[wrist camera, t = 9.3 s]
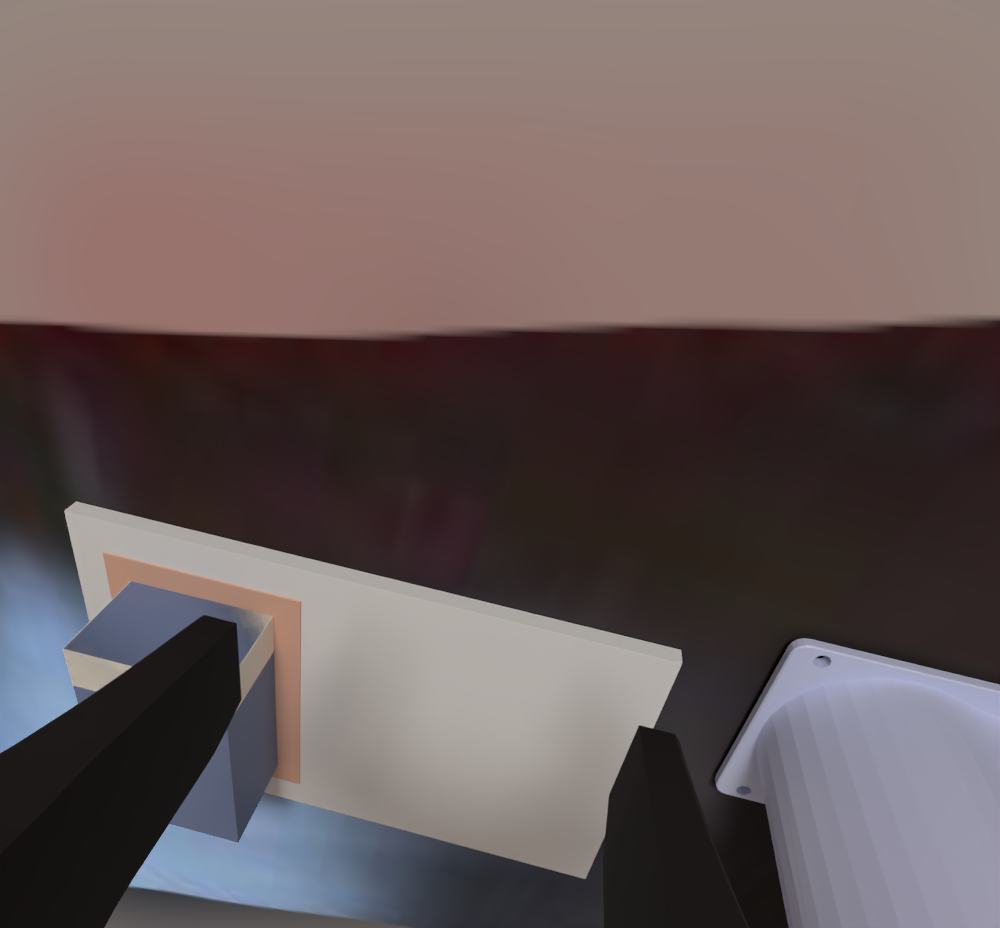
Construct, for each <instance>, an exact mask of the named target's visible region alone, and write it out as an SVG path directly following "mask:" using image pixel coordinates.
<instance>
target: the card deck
mask: <svg viewBox="0 0 1000 928" xmlns="http://www.w3.org/2000/svg"><path fill="white" fill-rule="evenodd" d="M203 615H207V616H211V617H215V618H219V619H222V620H226V621H230V622H234V623H237V636H238V651H239V667H240V682H241V698H242V700H241V702H240V704H239V706H238V708H237V710H236V712H235V714H234V716H233V718H232V720H231V722H230V724H229V726H228V728H227V730H226V732H225V734H224V736H223V738H222V740H221V742H220V744H219V745H218V747H217V749H216V751H215V753H214V755H213V757H212V758H211V760H210V761H209V763H208V764H207V766H206V768H205V769H204V771H203V772H202V774H201V775H200V777H199V778H198V780H197V782H196V783H195V785H194V786H193V788H192V789H191V791H190V792H189V794H188V795H187V797H186V799H185V800H184V802H183V803H182V805H181V806H180V808H179V809H178V811H177V812H176V814H175V815H174V817H173V818H172V820H171V821H170V823H169V824H172V825H176V826H180V827H183V828H187V829H191V830H195V831H198V832H202V833H206V834H209V835H213V836H217V837H220V838H224V839H228V840H231V841H235V842H239V840H240V838H241V836H242V834H243V832H244V830H245V828H246V826H247V824H248V822H249V820H250V818H251V816H252V815H253V813H254V811H255V809H256V807H257V805H258V803H259V801H260V799H261V797H262V795H263V793H264V791H265V789H266V787H267V785H268V784H269V782H270V780H271V778H272V776H273V774H274V772H275V770H276V768H277V766H278V753H277V725H276V696H275V668H274V625H273V616H271V615H267V614H263V613H259V612H254V611H250V610H246V609H242V608H238V607H234V606H230V605H226V604H222V603H218V602H214V601H210V600H206V599H202V598H198V597H193V596H189V595H185V594H181V593H177V592H173V591H169V590H165V589H161V588H157V587H153V586H149V585H145V584H141V583H136V582H132V581H130V582H129V583H128V584H127V585H126V586H125V587H124V588H123V589H122V590H121V591H120V592H119V593H118V594H117V595H116V596H115V597H114V598H113V599H112V600H111V601H110V602H109V603H108V604H107V605H106V606H105V607H104V608H103V609H102V610H101V611H100V612H99V613H98V614H97V615H96V616H95V617H94V618H93V619H92V620H91V621H90V622H89V623H88V624H87V625H86V626H85V627H84V628H83V629H82V630H81V631H80V632H79V633H78V634H77V635H76V636H75V637H74V638H73V639H72V640H71V641H70V642H69V643H68V644H67V645H66V646H65V647H64V648H63V651H64V655H65V659H66V662H67V666H68V670H69V673H70V677H71V680H72V684H73V686H74V690H75V693H76V697H77V700H78V704H79V703H80V702H82V701H83V700H85V699H86V698H88V697H89V696H91V695H92V694H94V693H95V692H96V691H98V690H99V689H101V688H102V687H104V686H105V685H106V684H108V683H109V682H111V681H112V680H114V679H115V678H117V677H118V676H119V675H121V674H122V673H124V672H125V671H127V670H128V669H129V668H131V667H132V666H134V665H135V664H136V663H138V662H139V661H140V660H142V659H143V658H145V657H146V656H147V655H149V654H150V653H152V652H153V651H154V650H156V649H157V648H158V647H160V646H161V645H162V644H164V643H165V642H167V641H168V640H169V639H171V638H172V637H173V636H175V635H176V634H177V633H179V632H180V631H181V630H183V629H184V628H186V627H187V626H188V625H190V624H191V623H192V622H194V621H195V620H197V619H198V618H200V617H201V616H203Z"/></svg>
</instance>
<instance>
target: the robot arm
mask: <svg viewBox="0 0 1000 928" xmlns="http://www.w3.org/2000/svg"><path fill="white" fill-rule="evenodd" d="M818 656H825V657H823V658H816V657H818ZM241 700H242V698H241V682H240V667H239V651H238V636H237V623H234V622H230V621H226V620H222V619H219V618H215V617H211V616H207V615H203V616H201V617H200V618H198V619H197V620H195V621H194V622H192V623H191V624H190V625H188V626H187V627H186V628H184V629H183V630H181V631H180V632H179V633H177V634H176V635H175V636H173V637H172V638H171V639H169V640H168V641H167V642H165V643H164V644H162V645H161V646H160V647H158V648H157V649H156V650H154V651H153V652H152V653H150V654H149V655H147V656H146V657H145V658H143V659H142V660H140V661H139V662H138V663H136V664H135V665H134V666H132V667H131V668H129V669H128V670H127V671H125V672H124V673H122V674H121V675H119V676H118V677H117V678H115V679H114V680H112V681H111V682H109V683H108V684H106V685H105V686H104V687H102V688H101V689H99V690H98V691H96V692H95V693H94V694H92V695H91V696H89V697H88V698H86V699H85V700H83V701H82V702H80V703H79V704H78V705H76V706H75V707H73V708H72V709H70V710H69V711H67V712H65V713H64V714H62V715H61V716H59V717H58V718H56V719H54V720H53V721H51V722H50V723H48V724H47V725H45V726H44V727H42V728H40V729H39V730H37V731H36V732H34V733H33V734H31V735H29V736H28V737H26V738H25V739H23V740H22V741H20V742H19V743H17V744H15V745H14V746H12V747H10V748H9V749H7V750H5V751H4V752H2V753H0V928H104V927H105V925H106V923H107V921H108V919H109V918H110V916H111V914H112V912H113V910H114V909H115V907H116V906H117V904H118V902H119V901H120V899H121V897H122V896H123V894H124V892H125V891H126V889H127V887H128V886H129V884H130V883H131V881H132V879H133V878H134V876H135V875H136V873H137V872H138V870H139V869H140V867H141V866H142V864H143V863H144V861H145V860H146V858H147V856H148V855H149V853H150V852H151V850H152V849H153V847H154V846H155V844H156V843H157V841H158V840H159V838H160V837H161V835H162V834H163V832H164V831H165V829H166V828H167V826H168V824H169V823H170V821H171V820H172V818H173V817H174V815H175V814H176V812H177V811H178V809H179V808H180V806H181V805H182V803H183V802H184V800H185V799H186V797H187V795H188V794H189V792H190V791H191V789H192V788H193V786H194V785H195V783H196V782H197V780H198V778H199V777H200V775H201V774H202V772H203V771H204V769H205V768H206V766H207V764H208V763H209V761H210V760H211V758H212V757H213V755H214V753H215V751H216V749H217V747H218V745H219V744H220V742H221V740H222V738H223V736H224V734H225V732H226V730H227V728H228V726H229V724H230V722H231V720H232V718H233V716H234V714H235V712H236V710H237V708H238V706H239V704H240V702H241ZM715 782H716V787H717V789H718V790H719V791H720V792H722V793H725V794H728V795H731V796H735V797H739V798H743V799H747V800H751V801H755V802H759V803H762V804H765V805H766V811H767V816H768V821H769V827H770V832H771V837H772V843H773V848H774V853H775V858H776V864H777V869H778V874H779V880H780V885H781V890H782V895H783V901H784V906H785V911H786V917H787V922H788V927H789V928H1000V685H999V684H995V683H991V682H987V681H982V680H978V679H974V678H970V677H966V676H962V675H958V674H954V673H949V672H945V671H941V670H937V669H933V668H929V667H925V666H920V665H916V664H912V663H908V662H904V661H900V660H896V659H891V658H887V657H883V656H879V655H875V654H871V653H867V652H862V651H858V650H854V649H850V648H846V647H842V646H838V645H833V644H829V643H825V642H821V641H817V640H813V639H806V638H802V639H797V640H795V641H793V642H791V644H790V645H789V646H788V647H787V649H786V651H785V653H784V654H783V656H782V658H781V660H780V662H779V663H778V665H777V667H776V669H775V671H774V672H773V674H772V676H771V678H770V679H769V681H768V683H767V685H766V687H765V688H764V690H763V692H762V694H761V695H760V697H759V699H758V701H757V703H756V704H755V706H754V708H753V710H752V712H751V713H750V715H749V717H748V719H747V720H746V722H745V724H744V726H743V728H742V729H741V731H740V733H739V735H738V737H737V738H736V740H735V742H734V744H733V745H732V747H731V749H730V751H729V753H728V754H727V756H726V758H725V760H724V761H723V763H722V765H721V767H720V769H719V770H718V772H717V774H716V777H715ZM603 870H604V928H750V927H749V925H748V923H747V921H746V918H745V916H744V914H743V912H742V909H741V907H740V905H739V902H738V900H737V898H736V895H735V893H734V891H733V888H732V886H731V884H730V881H729V879H728V876H727V874H726V871H725V869H724V866H723V864H722V861H721V859H720V856H719V854H718V851H717V849H716V846H715V844H714V841H713V839H712V836H711V834H710V831H709V828H708V826H707V823H706V820H705V817H704V815H703V812H702V809H701V806H700V803H699V801H698V798H697V795H696V792H695V789H694V786H693V783H692V780H691V777H690V774H689V771H688V768H687V765H686V762H685V759H684V756H683V752H682V749H681V746H680V742H679V740H678V738H677V737H676V735H675V734H672V733H668V732H664V731H660V730H656V729H652V728H648V727H645V726H641V725H639V726H638V729H637V731H636V733H635V736H634V738H633V740H632V743H631V745H630V747H629V750H628V752H627V754H626V757H625V759H624V761H623V764H622V766H621V768H620V771H619V773H618V775H617V778H616V780H615V782H614V785H613V787H612V789H611V792H610V794H609V800H608V811H607V822H606V833H605V845H604V858H603Z"/></svg>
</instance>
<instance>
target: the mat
mask: <svg viewBox="0 0 1000 928" xmlns="http://www.w3.org/2000/svg"><path fill="white" fill-rule="evenodd" d="M64 512H65V516H66V521H67V525H68V530H69V534H70V538H71V543H72V547H73V552H74V556H75V560H76V565H77V569H78V574H79V578H80V582H81V587H82V591H83V596H84V600H85V604H86V609H87V613H88V618H89V622H90V621H91V620H92V619H93V618H94V617H95V616H96V615H97V614H98V613H99V612H100V611H101V610H102V609H103V608H104V607H105V606H106V605H107V604H108V603H109V602H110V601H111V600H112V599H113V598H114V597H115V596H116V595H117V594H118V593H119V592H120V591H121V590H122V589H123V588H124V587H125V586H126V585H127V584H128V583H129V582H130V581H132V582H136V583H141V584H145V585H149V586H153V587H157V588H161V589H165V590H169V591H173V592H177V593H181V594H185V595H189V596H193V597H198V598H202V599H206V600H210V601H214V602H218V603H222V604H226V605H230V606H234V607H238V608H242V609H246V610H250V611H254V612H259V613H263V614H267V615H271V616H273V625H274V668H275V696H276V725H277V753H278V766H277V768H276V770H275V772H274V774H273V776H272V778H271V780H270V782H269V784H268V785H267V787H266V789H265V791H264V793H268V794H271V795H275V796H279V797H282V798H286V799H290V800H294V801H297V802H301V803H305V804H308V805H312V806H316V807H319V808H323V809H327V810H331V811H334V812H338V813H342V814H345V815H349V816H353V817H357V818H360V819H364V820H368V821H371V822H375V823H379V824H383V825H386V826H390V827H394V828H397V829H401V830H405V831H409V832H412V833H416V834H420V835H423V836H427V837H431V838H435V839H438V840H442V841H446V842H449V843H453V844H457V845H461V846H464V847H468V848H472V849H475V850H479V851H483V852H487V853H490V854H494V855H498V856H501V857H505V858H509V859H513V860H516V861H520V862H524V863H527V864H531V865H535V866H538V867H542V868H546V869H550V870H553V871H557V872H561V873H564V874H568V875H572V876H576V877H579V878H583V879H586V877H587V875H588V872H589V870H590V868H591V866H592V863H593V861H594V859H595V857H596V854H597V852H598V850H599V848H600V846H601V843H602V841H603V839H604V837H605V833H606V822H607V811H608V800H609V794H610V792H611V789H612V787H613V785H614V782H615V780H616V778H617V775H618V773H619V771H620V768H621V766H622V764H623V761H624V759H625V757H626V754H627V752H628V750H629V747H630V745H631V743H632V740H633V738H634V736H635V733H636V731H637V729H638V726H639V725H641V726H645V727H648V728H652V729H653V728H654V725H655V723H656V721H657V719H658V716H659V714H660V712H661V710H662V708H663V705H664V703H665V701H666V699H667V696H668V694H669V692H670V690H671V687H672V685H673V683H674V681H675V679H676V676H677V674H678V672H679V670H680V667H681V665H682V654H681V650H679V649H675V648H671V647H667V646H663V645H659V644H655V643H651V642H647V641H643V640H639V639H634V638H630V637H626V636H622V635H618V634H614V633H610V632H606V631H602V630H598V629H594V628H590V627H586V626H581V625H577V624H573V623H569V622H565V621H561V620H557V619H553V618H549V617H545V616H541V615H537V614H533V613H529V612H524V611H520V610H516V609H512V608H508V607H504V606H500V605H496V604H492V603H488V602H484V601H480V600H476V599H471V598H467V597H463V596H459V595H455V594H451V593H447V592H443V591H439V590H435V589H431V588H427V587H423V586H419V585H414V584H410V583H406V582H402V581H398V580H394V579H390V578H386V577H382V576H378V575H374V574H370V573H366V572H361V571H357V570H353V569H349V568H345V567H341V566H337V565H333V564H329V563H325V562H321V561H317V560H313V559H308V558H304V557H300V556H296V555H292V554H288V553H284V552H280V551H276V550H272V549H268V548H264V547H260V546H256V545H251V544H247V543H243V542H239V541H235V540H231V539H227V538H223V537H219V536H215V535H211V534H207V533H203V532H198V531H194V530H190V529H186V528H182V527H178V526H174V525H170V524H166V523H162V522H158V521H154V520H150V519H146V518H141V517H137V516H133V515H129V514H125V513H121V512H117V511H113V510H109V509H105V508H101V507H97V506H93V505H88V504H84V503H80V502H75V503H74V504H73V505H71V506H70V507H69V508H67V509H66V510H65V511H64Z"/></svg>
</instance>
